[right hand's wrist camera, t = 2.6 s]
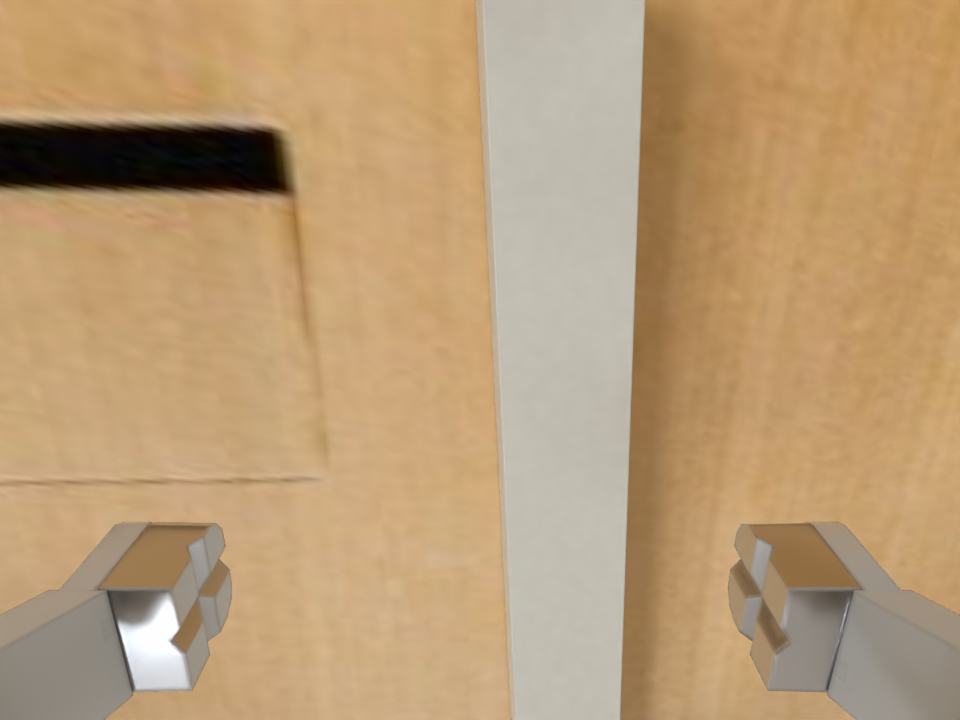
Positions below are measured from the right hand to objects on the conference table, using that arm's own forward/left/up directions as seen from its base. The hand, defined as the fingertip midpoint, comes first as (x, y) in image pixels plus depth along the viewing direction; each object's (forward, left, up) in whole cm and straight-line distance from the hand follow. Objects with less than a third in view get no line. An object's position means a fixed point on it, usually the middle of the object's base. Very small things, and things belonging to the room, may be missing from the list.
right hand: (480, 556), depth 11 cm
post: (+17, -4, -18) cm, 25 cm away
